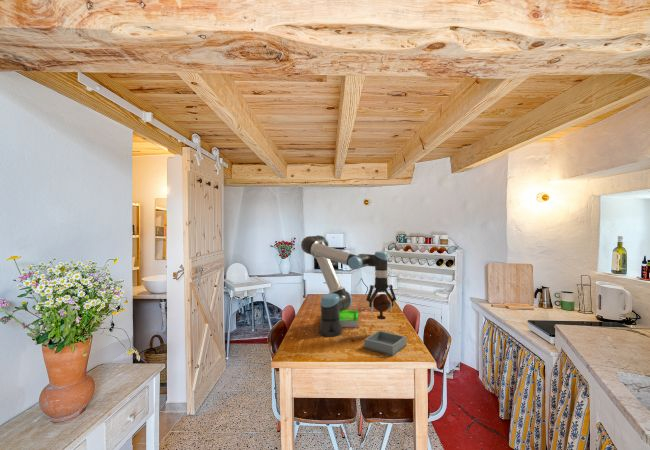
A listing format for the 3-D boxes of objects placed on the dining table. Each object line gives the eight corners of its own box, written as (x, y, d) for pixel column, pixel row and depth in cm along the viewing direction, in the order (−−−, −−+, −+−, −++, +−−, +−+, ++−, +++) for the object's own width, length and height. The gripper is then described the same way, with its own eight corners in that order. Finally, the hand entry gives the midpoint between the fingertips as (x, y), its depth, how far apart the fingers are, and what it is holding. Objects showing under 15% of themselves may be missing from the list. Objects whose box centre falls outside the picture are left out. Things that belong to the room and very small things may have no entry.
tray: (358, 317, 230) (358, 310, 230) (358, 328, 205) (358, 320, 205) (324, 316, 233) (324, 309, 233) (320, 327, 208) (320, 320, 208)
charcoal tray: (364, 348, 171) (364, 339, 171) (379, 339, 184) (379, 330, 184) (392, 356, 160) (392, 346, 160) (406, 345, 174) (406, 336, 174)
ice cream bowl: (390, 316, 196) (390, 292, 196) (389, 321, 186) (389, 296, 186) (373, 314, 199) (373, 291, 199) (371, 320, 189) (371, 295, 188)
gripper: (364, 278, 187) (364, 314, 187) (401, 277, 190) (401, 313, 190) (361, 276, 195) (361, 311, 195) (397, 275, 197) (397, 309, 198)
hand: (381, 312), depth 193 cm, fingers closed on ice cream bowl, 11 cm apart
